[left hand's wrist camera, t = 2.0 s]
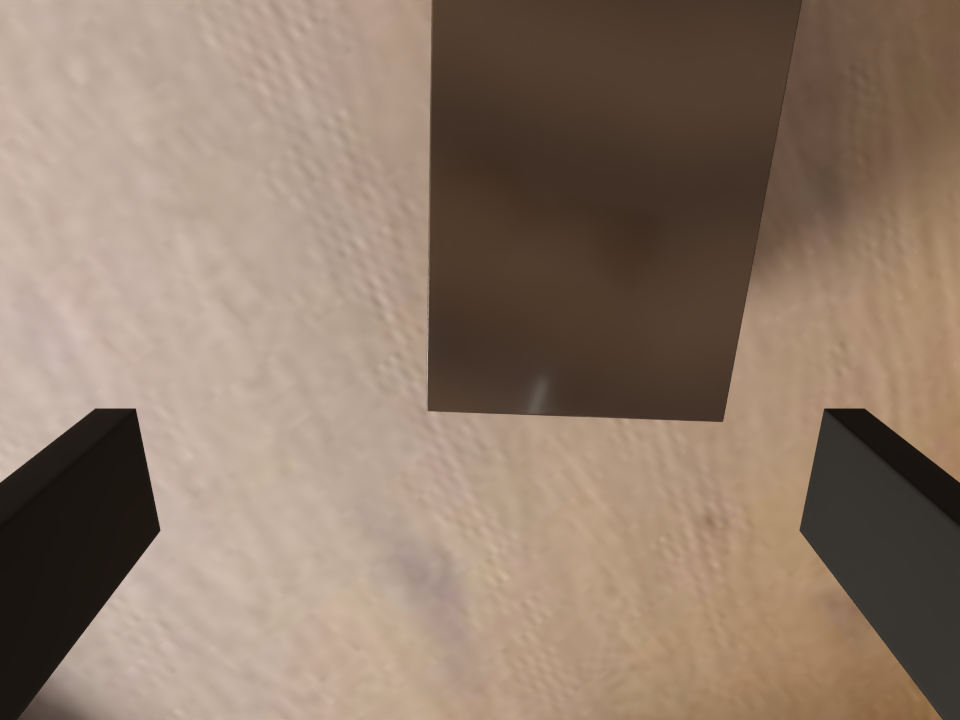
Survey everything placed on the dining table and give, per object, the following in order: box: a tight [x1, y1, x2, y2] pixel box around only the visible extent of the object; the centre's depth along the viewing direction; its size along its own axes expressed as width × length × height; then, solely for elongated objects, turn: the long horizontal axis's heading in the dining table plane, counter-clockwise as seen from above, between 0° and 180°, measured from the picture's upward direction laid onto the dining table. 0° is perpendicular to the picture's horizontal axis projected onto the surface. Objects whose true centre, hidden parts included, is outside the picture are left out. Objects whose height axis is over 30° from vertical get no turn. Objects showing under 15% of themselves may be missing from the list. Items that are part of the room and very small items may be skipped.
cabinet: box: [426, 0, 802, 422], centre depth 24 cm, size 17×10×10 cm, turn 178°
